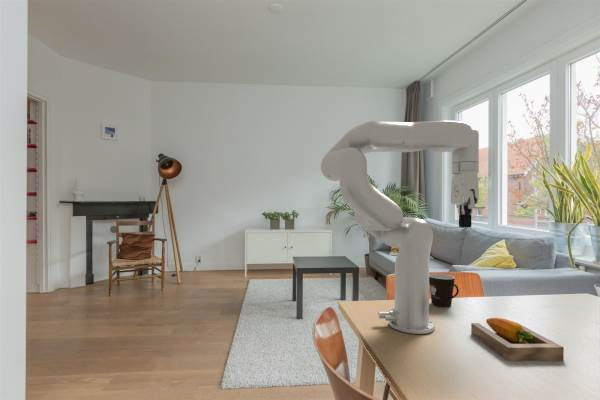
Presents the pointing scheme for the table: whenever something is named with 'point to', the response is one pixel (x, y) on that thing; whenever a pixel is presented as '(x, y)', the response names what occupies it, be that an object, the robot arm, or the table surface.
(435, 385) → the table surface
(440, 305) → the coffee mug
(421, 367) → the table surface
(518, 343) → the rest
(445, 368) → the table surface
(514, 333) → the carrot
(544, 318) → the table surface
